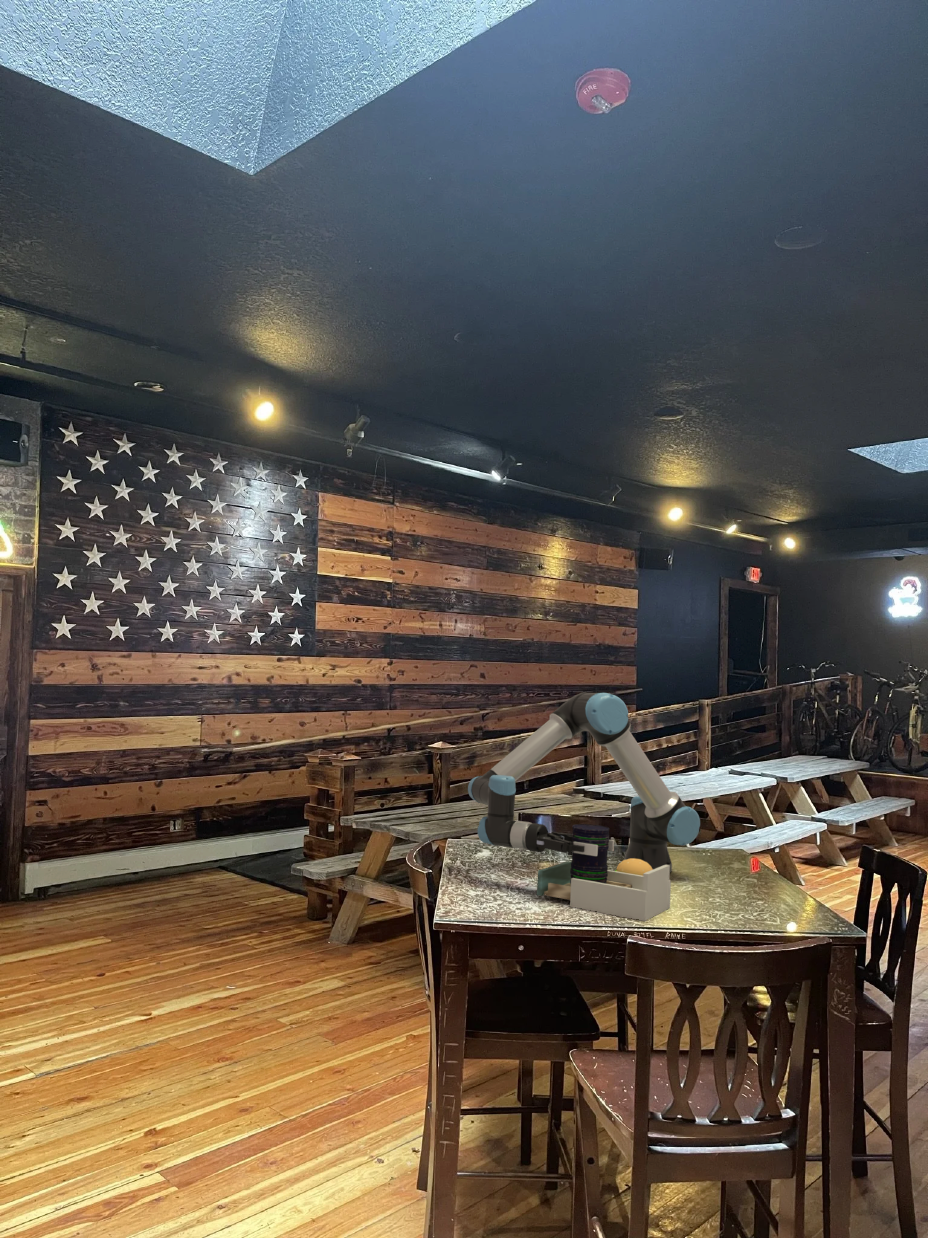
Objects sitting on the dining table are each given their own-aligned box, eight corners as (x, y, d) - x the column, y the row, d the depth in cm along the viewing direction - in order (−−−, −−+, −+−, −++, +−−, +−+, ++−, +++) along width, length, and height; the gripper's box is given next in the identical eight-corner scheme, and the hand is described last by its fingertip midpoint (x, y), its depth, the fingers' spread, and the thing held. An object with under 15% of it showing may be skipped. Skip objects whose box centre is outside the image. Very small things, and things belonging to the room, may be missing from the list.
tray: (536, 895, 227) (538, 870, 228) (567, 884, 242) (568, 861, 243) (607, 908, 217) (608, 882, 217) (634, 896, 232) (635, 872, 232)
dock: (570, 906, 222) (571, 862, 223) (598, 895, 237) (600, 853, 238) (644, 921, 211) (646, 875, 212) (670, 908, 226) (671, 864, 227)
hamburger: (621, 895, 238) (622, 863, 239) (606, 885, 250) (607, 855, 251) (662, 895, 240) (663, 864, 241) (646, 886, 252) (647, 855, 253)
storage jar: (612, 889, 225) (614, 830, 227) (575, 888, 224) (578, 829, 225) (600, 880, 235) (602, 824, 236) (565, 880, 233) (567, 823, 235)
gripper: (548, 845, 249) (621, 857, 237) (509, 855, 230) (586, 869, 218) (549, 819, 250) (622, 829, 238) (510, 827, 231) (587, 838, 219)
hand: (605, 848), depth 228 cm, fingers closed on storage jar, 10 cm apart
